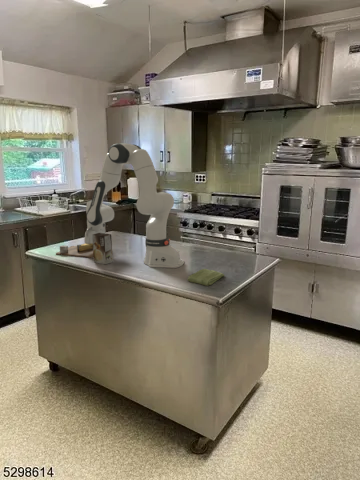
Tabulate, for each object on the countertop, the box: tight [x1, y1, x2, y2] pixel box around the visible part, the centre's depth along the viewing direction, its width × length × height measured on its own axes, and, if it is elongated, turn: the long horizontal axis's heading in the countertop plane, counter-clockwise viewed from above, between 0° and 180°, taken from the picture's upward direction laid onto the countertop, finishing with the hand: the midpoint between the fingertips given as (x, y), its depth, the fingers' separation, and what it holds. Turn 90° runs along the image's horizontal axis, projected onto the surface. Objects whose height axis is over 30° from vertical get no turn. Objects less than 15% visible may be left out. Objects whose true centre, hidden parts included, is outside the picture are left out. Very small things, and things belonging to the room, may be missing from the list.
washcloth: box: [187, 268, 225, 287], centre depth 176 cm, size 13×18×3 cm
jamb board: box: [55, 244, 94, 259], centre depth 220 cm, size 24×18×5 cm
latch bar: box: [76, 242, 93, 252], centre depth 222 cm, size 14×3×4 cm, turn 141°
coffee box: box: [92, 232, 114, 265], centre depth 200 cm, size 9×6×16 cm
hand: (95, 247), depth 224 cm, fingers closed
